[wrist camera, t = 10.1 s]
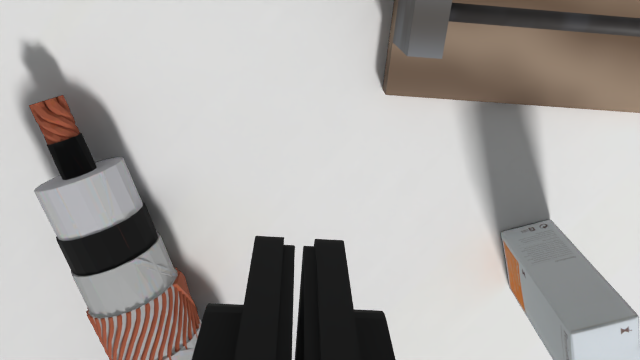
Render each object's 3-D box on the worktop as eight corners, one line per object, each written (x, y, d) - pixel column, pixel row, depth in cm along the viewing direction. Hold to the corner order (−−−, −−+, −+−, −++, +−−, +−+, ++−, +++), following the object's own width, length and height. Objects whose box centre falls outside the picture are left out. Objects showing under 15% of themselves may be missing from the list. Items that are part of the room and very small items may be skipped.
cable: (116, 78, 39) (129, 74, 30) (253, 411, 49) (293, 481, 40) (-25, 121, 36) (-56, 131, 27) (154, 471, 46) (174, 562, 37)
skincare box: (498, 231, 41) (569, 331, 30) (550, 217, 40) (642, 314, 29) (507, 289, 43) (577, 402, 32) (557, 277, 43) (644, 387, 32)
